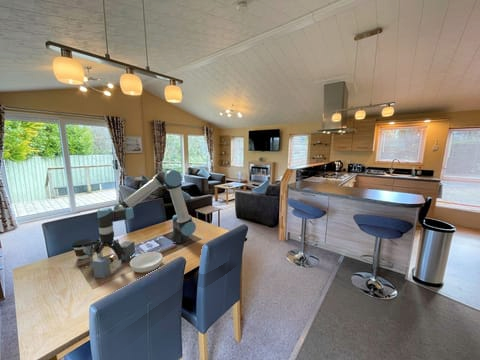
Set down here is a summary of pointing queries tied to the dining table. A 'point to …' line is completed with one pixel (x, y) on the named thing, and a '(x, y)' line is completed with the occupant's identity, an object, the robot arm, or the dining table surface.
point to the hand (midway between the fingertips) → (110, 263)
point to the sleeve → (127, 250)
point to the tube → (115, 256)
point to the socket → (101, 267)
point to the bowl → (146, 262)
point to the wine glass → (89, 250)
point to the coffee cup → (80, 248)
